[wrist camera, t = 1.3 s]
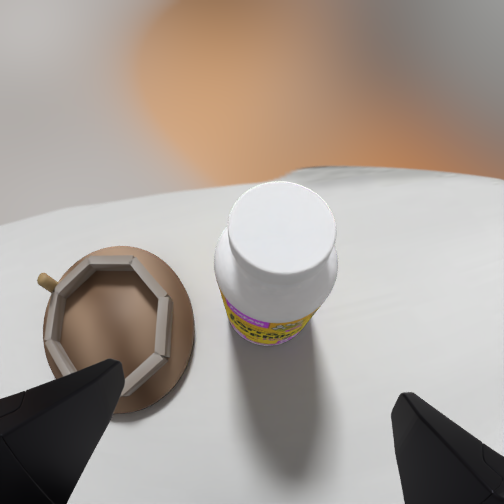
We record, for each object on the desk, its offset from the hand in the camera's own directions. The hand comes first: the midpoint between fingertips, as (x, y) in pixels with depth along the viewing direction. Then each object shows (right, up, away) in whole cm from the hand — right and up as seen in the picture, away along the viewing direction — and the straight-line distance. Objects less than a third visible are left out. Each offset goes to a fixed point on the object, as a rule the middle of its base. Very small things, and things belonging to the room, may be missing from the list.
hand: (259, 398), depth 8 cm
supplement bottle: (+1, 0, +16) cm, 16 cm away
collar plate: (-12, -2, +15) cm, 19 cm away
